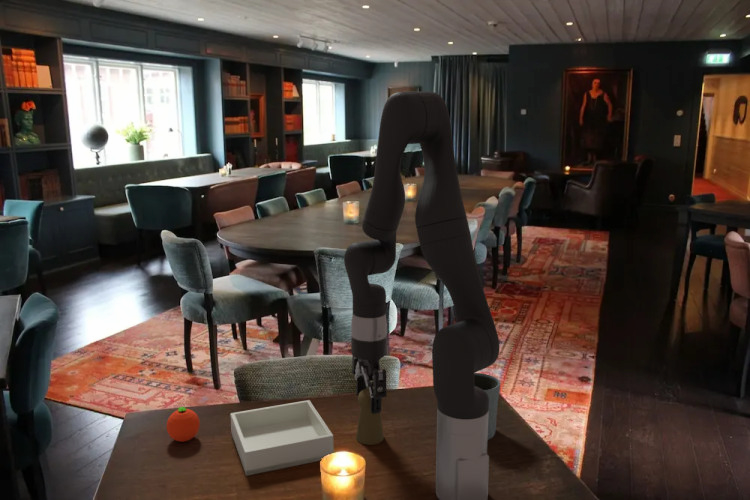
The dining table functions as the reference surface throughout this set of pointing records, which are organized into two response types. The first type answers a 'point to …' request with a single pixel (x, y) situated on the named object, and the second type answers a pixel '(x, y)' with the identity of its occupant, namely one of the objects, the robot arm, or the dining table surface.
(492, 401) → the grey round pot
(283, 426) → the serving bin
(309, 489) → the dining table surface
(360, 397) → the olive pepper mill
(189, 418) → the clementine
